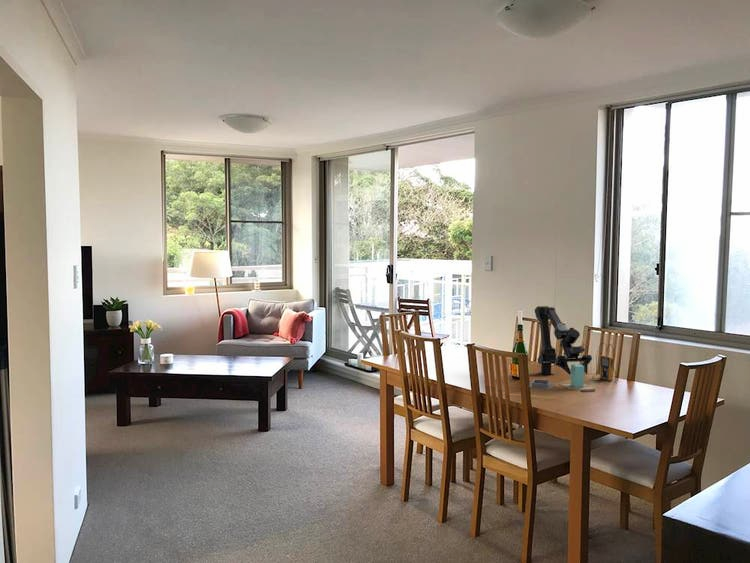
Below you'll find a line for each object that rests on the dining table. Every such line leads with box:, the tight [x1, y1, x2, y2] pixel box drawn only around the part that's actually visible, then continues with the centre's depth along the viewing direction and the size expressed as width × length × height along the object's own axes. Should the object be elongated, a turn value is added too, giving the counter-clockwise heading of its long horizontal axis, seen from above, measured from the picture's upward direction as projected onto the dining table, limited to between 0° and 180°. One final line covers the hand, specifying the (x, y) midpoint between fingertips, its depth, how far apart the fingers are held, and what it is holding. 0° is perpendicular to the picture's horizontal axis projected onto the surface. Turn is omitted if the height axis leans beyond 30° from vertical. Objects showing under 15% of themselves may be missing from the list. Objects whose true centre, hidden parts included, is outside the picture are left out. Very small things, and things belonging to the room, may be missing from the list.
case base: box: [529, 378, 553, 390], centre depth 307 cm, size 14×11×3 cm
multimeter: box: [592, 342, 619, 383], centre depth 323 cm, size 15×10×20 cm
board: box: [559, 382, 596, 393], centre depth 304 cm, size 13×13×1 cm
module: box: [570, 363, 585, 388], centre depth 304 cm, size 5×4×11 cm
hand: (578, 373), depth 303 cm, fingers open, 9 cm apart
